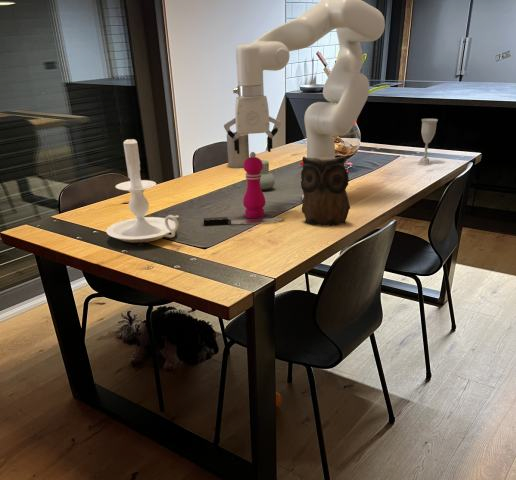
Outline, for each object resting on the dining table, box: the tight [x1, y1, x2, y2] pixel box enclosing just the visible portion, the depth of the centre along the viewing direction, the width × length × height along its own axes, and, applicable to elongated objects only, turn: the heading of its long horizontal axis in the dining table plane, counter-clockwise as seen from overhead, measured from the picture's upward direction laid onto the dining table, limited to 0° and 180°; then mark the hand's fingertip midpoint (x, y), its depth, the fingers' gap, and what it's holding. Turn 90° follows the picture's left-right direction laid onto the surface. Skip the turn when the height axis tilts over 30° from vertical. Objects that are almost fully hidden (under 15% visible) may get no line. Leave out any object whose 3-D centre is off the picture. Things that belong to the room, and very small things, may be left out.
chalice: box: [418, 118, 439, 166], centre depth 231 cm, size 7×7×18 cm
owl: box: [300, 156, 351, 227], centre depth 163 cm, size 13×13×20 cm
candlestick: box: [106, 138, 180, 244], centre depth 152 cm, size 21×25×28 cm
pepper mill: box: [242, 151, 266, 219], centre depth 171 cm, size 7×7×20 cm
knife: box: [203, 216, 284, 227], centre depth 170 cm, size 25×4×2 cm, turn 95°
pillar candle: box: [226, 131, 250, 169], centre depth 239 cm, size 10×10×15 cm
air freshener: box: [260, 159, 276, 191], centre depth 204 cm, size 11×8×10 cm
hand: (253, 152), depth 166 cm, fingers open, 9 cm apart
